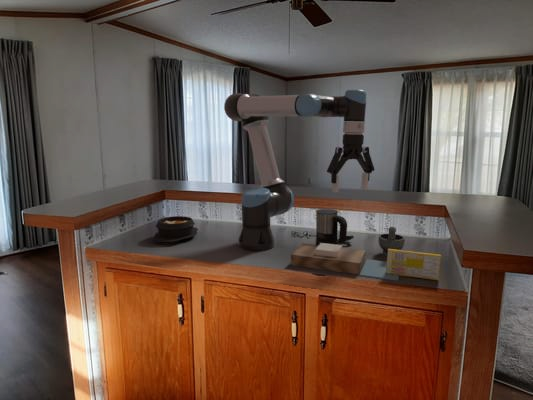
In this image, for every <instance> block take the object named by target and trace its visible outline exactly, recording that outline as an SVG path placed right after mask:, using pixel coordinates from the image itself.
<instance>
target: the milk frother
mask: <svg viewBox="0 0 533 400" xmlns="http://www.w3.org/2000/svg"><path fill="white" fill-rule="evenodd" d="M338 213H339V210H337V209H331V208H321V209H316V210H315V214H316V216H315V217H316V218H315V222H316V225H315V227H316V233H315V234H316V235H315V236H316V237H315V244H314V245H320V244H321V243H326V244H335V245H344V244H345V243H346V242H348V241H351V240H353V239H354V235H348V234H347V233H348V231H347V230H348V222H347V220H346V219H345V217H344V216H342V215H341V216H340V215H338ZM338 224H339V226H338ZM338 228H339V237H338Z"/></svg>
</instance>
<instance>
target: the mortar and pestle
mask: <svg viewBox="0 0 533 400" xmlns="http://www.w3.org/2000/svg"><path fill="white" fill-rule="evenodd" d="M396 232H397V228H396V227H394V226H389V227H388V233H381V234H379V235H378V244H379V247H380V248H381V249H382V255H384V256H385V257H387V254H388V249H396V250H403V248H404V245H405V239H406V238H405V236H403V235H401V234H399V233H398V234H397V233H396Z"/></svg>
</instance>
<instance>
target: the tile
mask: <svg viewBox="0 0 533 400" xmlns="http://www.w3.org/2000/svg"><path fill="white" fill-rule="evenodd" d="M343 245H344V244H337V245H335V244H326V243H321V244H320V245H319V246H318V247H317V248H316V249H315V255H323V256H331V257H338V256H339V255H340V253H341V252H342V248H343Z"/></svg>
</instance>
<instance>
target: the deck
mask: <svg viewBox="0 0 533 400" xmlns="http://www.w3.org/2000/svg"><path fill="white" fill-rule="evenodd" d="M318 246H319V245H315V244H310V243H302V244H300V245H299V246H298V247H297V248H296V249H295V250H294V251H293V252H292V253H291V255H290V258H291V260H290V263H291V264H290V266H295V267H303V268H310V269H316V270H322V271H323V270H324V271H330V272H338V273H346V274H353V275H360V273H361V271H362V269H363V266H364V264H365V262H366V257H367V256H366V254H367V251H366V250H364V249H357V248H356V249H355V248H346V247H345V248H344V247H342V252H341V253H340V255H339V256H338V257H331V256H323V255H315V249H316V248H317V247H318Z"/></svg>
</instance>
